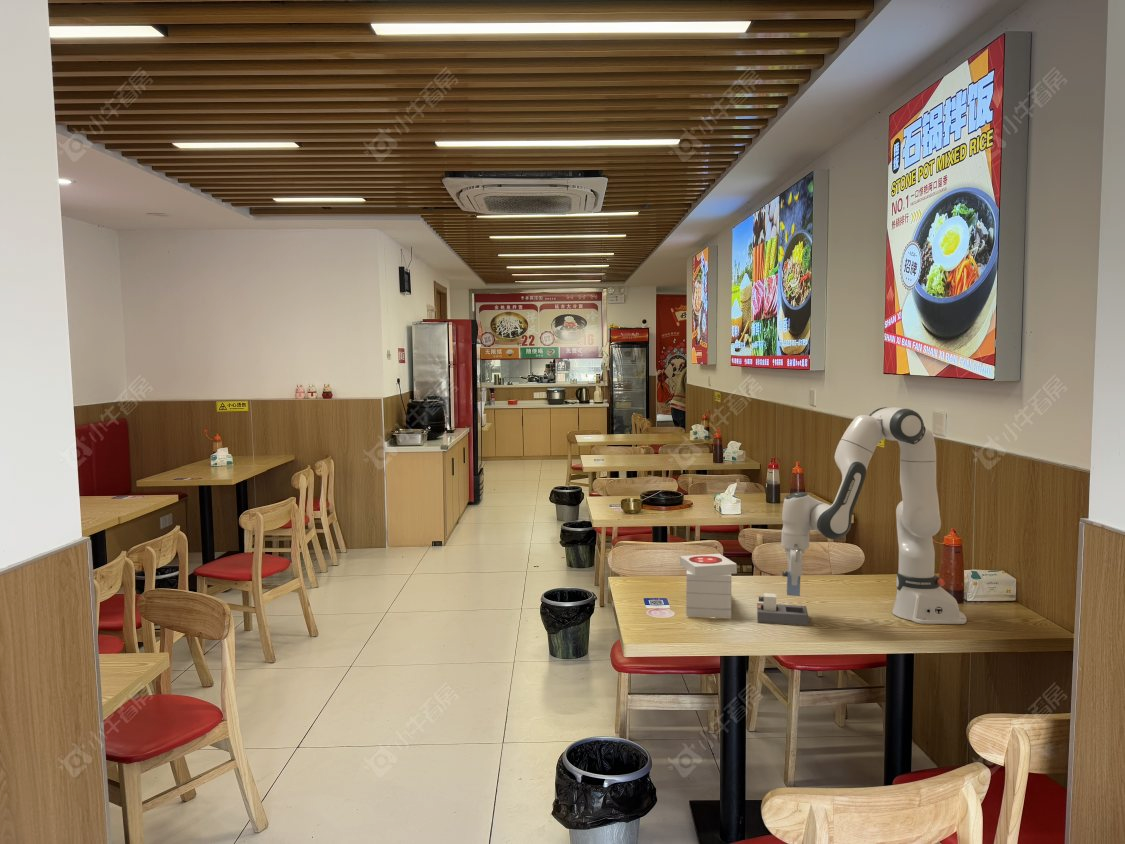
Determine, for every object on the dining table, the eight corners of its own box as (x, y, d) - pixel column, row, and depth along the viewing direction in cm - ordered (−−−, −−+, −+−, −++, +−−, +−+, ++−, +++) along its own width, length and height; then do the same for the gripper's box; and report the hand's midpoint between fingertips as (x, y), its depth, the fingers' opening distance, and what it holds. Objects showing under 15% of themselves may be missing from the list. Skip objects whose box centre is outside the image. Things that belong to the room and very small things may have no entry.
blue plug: (799, 592, 257) (799, 569, 256) (799, 596, 253) (800, 572, 252) (781, 591, 258) (782, 568, 258) (782, 594, 254) (782, 571, 254)
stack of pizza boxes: (732, 595, 285) (732, 547, 283) (737, 621, 255) (737, 568, 254) (680, 592, 288) (680, 545, 287) (679, 618, 258) (679, 566, 257)
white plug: (775, 617, 259) (775, 593, 259) (775, 620, 256) (776, 597, 255) (758, 615, 261) (758, 592, 260) (758, 619, 257) (758, 596, 256)
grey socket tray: (805, 616, 260) (806, 604, 260) (808, 625, 250) (808, 614, 250) (757, 612, 264) (757, 601, 263) (757, 622, 254) (757, 610, 254)
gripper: (807, 549, 243) (805, 592, 244) (803, 535, 263) (801, 575, 264) (786, 548, 245) (785, 590, 246) (783, 534, 265) (782, 573, 266)
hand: (793, 582), depth 255 cm, fingers closed on blue plug, 4 cm apart
